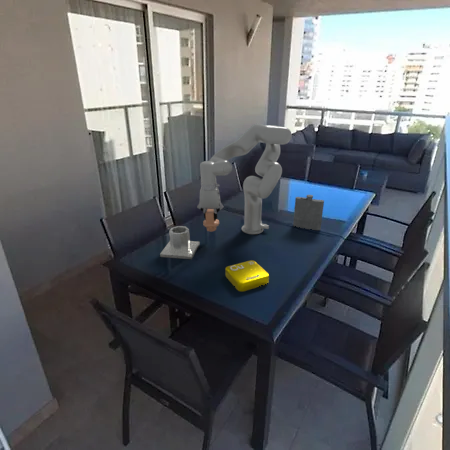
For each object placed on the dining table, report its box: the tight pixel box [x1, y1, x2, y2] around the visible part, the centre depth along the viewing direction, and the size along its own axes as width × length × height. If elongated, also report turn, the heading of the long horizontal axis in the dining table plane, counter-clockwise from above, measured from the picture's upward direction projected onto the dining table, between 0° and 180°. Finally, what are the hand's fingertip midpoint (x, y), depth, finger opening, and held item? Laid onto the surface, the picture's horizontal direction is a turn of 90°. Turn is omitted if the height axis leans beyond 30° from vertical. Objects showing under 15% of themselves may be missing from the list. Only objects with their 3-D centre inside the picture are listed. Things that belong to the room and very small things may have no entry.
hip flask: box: [292, 194, 325, 231], centre depth 183 cm, size 16×4×20 cm, turn 65°
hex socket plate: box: [159, 225, 201, 260], centre depth 161 cm, size 16×16×12 cm
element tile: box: [225, 259, 270, 292], centre depth 139 cm, size 15×15×5 cm
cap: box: [202, 208, 220, 232], centre depth 168 cm, size 8×8×10 cm
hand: (210, 219), depth 167 cm, fingers closed on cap, 4 cm apart
